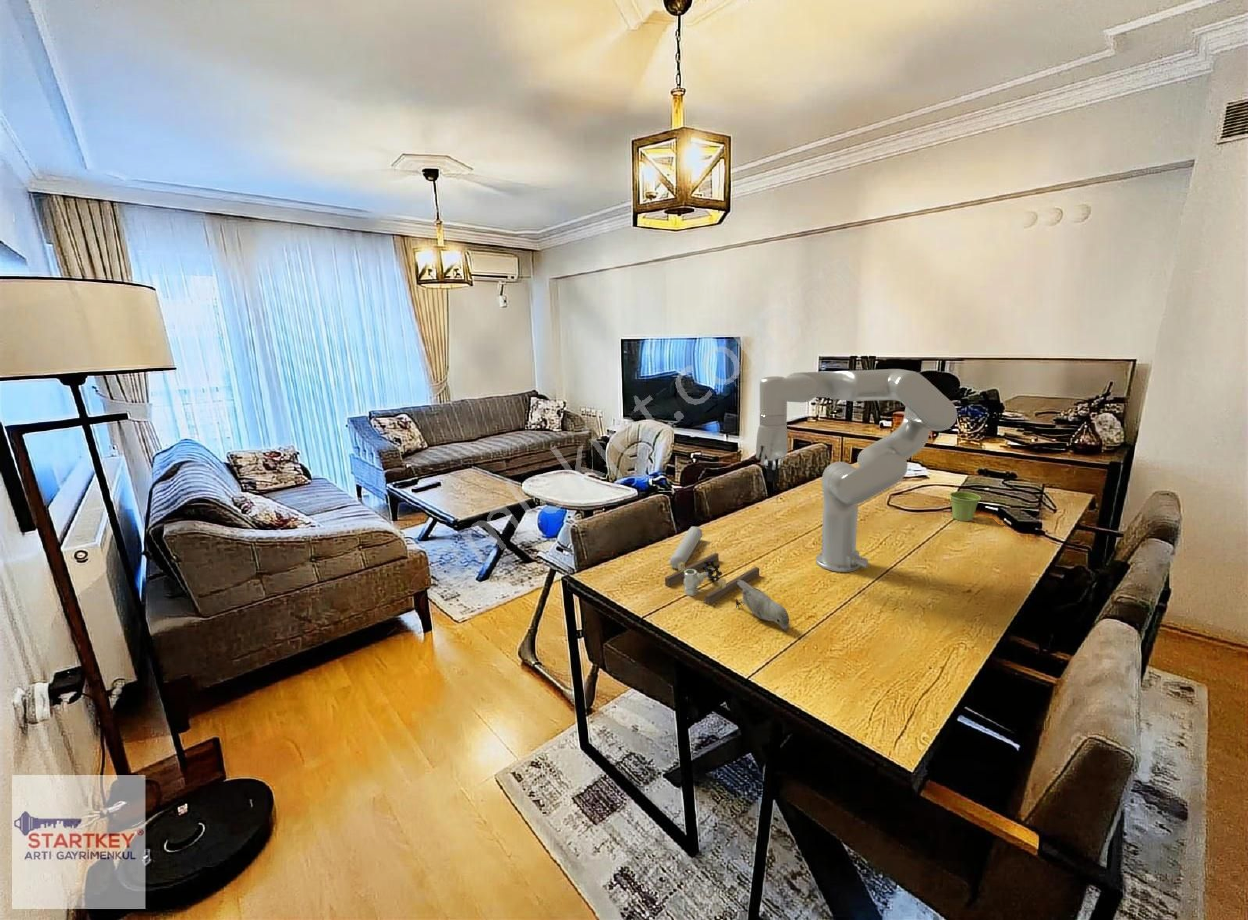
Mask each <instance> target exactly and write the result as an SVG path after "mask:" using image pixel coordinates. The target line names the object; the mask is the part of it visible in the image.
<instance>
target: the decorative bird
mask: <svg viewBox="0 0 1248 920" xmlns="http://www.w3.org/2000/svg"><path fill="white" fill-rule="evenodd" d="M738 581H739V582H737V584H738V585H739V586H740V587H739V588H741V589H742V590H741V593H742V597H741V598H742V600H741V601H740V602H739V601H738V598H737V597H736V596H735V600H736V601H735V604H736V607H735V609H737V608H738V609H740V606H742V604H743V605H746V607H747V608H748V609H749V611H751V612H752V614H753V615H754V616H755V617H756V618H759V619H760V620H762V621H768V622H774V623H776V624H777V625H778V626H779V627H780V629H782V630H783V631H784V632H787V631H788V629H789V625H790V618H789V613H788V612H787V610H786V608H785V607H784V606H783V605H781V604H780V603H778V602H776V601H774V600H773V599H772V598H771V597H770V596H769V595H768V594H766V592H764V591H762V590H761V589H759V588H756V587H753V586H752V585H750V583H746V582H744V581H743V580H738Z"/></svg>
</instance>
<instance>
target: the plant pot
mask: <svg viewBox="0 0 1248 920" xmlns="http://www.w3.org/2000/svg"><path fill="white" fill-rule="evenodd" d="M949 497H950V500H951V511H952V512H951V513H952V515H951V516H952V518H953V519H954V520H957V521H960V522H968V521H970V522H971V521H973V520H974V516H975V512H976V509H977V506H978V504H979V502H980V500H982V496H981V495H978V494H976V493H973V492H968V491H954V492H950V493H949Z"/></svg>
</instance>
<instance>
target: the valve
mask: <svg viewBox="0 0 1248 920" xmlns="http://www.w3.org/2000/svg"><path fill="white" fill-rule="evenodd" d="M704 564H706V566H704V567H703V568H702V572H701V573H700V572H697V571H696V570H694V569H687V570H685V571H684V577H685V578H684V579H683V580H682V581H683V586H684V593H685V595H686V596H690V597H693V596H696V595H698V593H699V587H698V586H699V585H700V584H702V583H703V582H704V580H706V579H707V578H708V579H709V581H710V582H711V583H713V582H719V579H721V578H720V576H722V575H723V572H722V571H720V570H719V569H720V568H721V566H720V565H719V564H716V565H715V563H714V560H711V561H710V563H709V561H705V562H704ZM710 566H711V567H710ZM709 567H710V568H709ZM703 571H704V572H703ZM714 574H715V575H714Z"/></svg>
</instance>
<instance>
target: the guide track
mask: <svg viewBox="0 0 1248 920" xmlns="http://www.w3.org/2000/svg"><path fill="white" fill-rule="evenodd" d="M711 560H714V564H716V563H717V562H719V561H720V560H719V553H717V552H714V553H712V554H710V555H707V556H705V557H704V558H701V559H700V560H698V561H696V562H694V563H692V564H689V565H688V566H685V565H686V563H683V562H680V563H678V570H677V571H675V572H674V573H671V574H670V575H667V576H666V577H664V585H665V586H666V587H671V586H672V585H674V584H676V583H679V582H680V581H683V580H684V578H685V577H684V571H685V570H687V569H694V570H696V571H697V573H699V572H701V570H702V571H703V569H702V568H703V567H704V566H706V564H704V562H705V561H709V563H710V561H711ZM759 576H760V567H757V566H754V567H753V568H751V569H749V570H748V571H746V572H744V573H742V574H740V575H739V576H737V577H736V578H733V579H732V580H730V581H728V582H727V583H726V581H727V579H726V578H724V577H721V578H720V579H719V581H718V588H716V589H714V590H712V591H711V592H709V593H707V594H705V595H704V599H705V602H704V603H705V605H708V606H710V605H712V604H714V603H715V602H717V601H719V600H721V599H722V598H724V597H726V596H727V595H729V594H730V593H731V594H732V593H733V592H734V591H735V590H738V589H740V588H741V587H740V586H739V585H738V584H737V582H739V581H738V580H743V581H744V582H746V583H747V584H749V583H750V582H751V581H753V580H754V579H756V578H757V577H759Z"/></svg>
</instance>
